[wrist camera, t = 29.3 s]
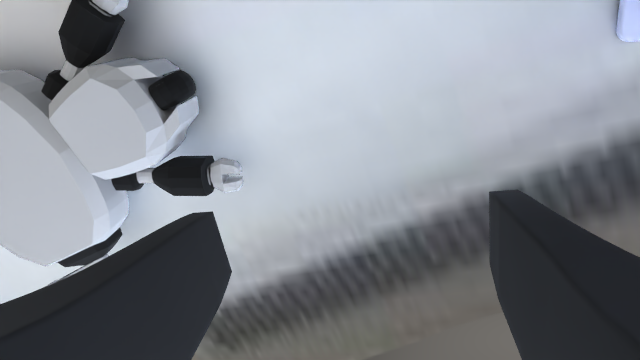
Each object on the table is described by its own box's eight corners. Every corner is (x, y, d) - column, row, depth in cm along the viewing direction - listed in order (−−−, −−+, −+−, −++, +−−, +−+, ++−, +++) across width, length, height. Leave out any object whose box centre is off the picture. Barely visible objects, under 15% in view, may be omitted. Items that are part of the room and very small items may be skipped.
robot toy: (141, -49, 19) (-56, 93, 23) (77, -63, 15) (-147, 113, 19) (271, 169, 23) (82, 257, 27) (249, 206, 19) (30, 303, 23)
